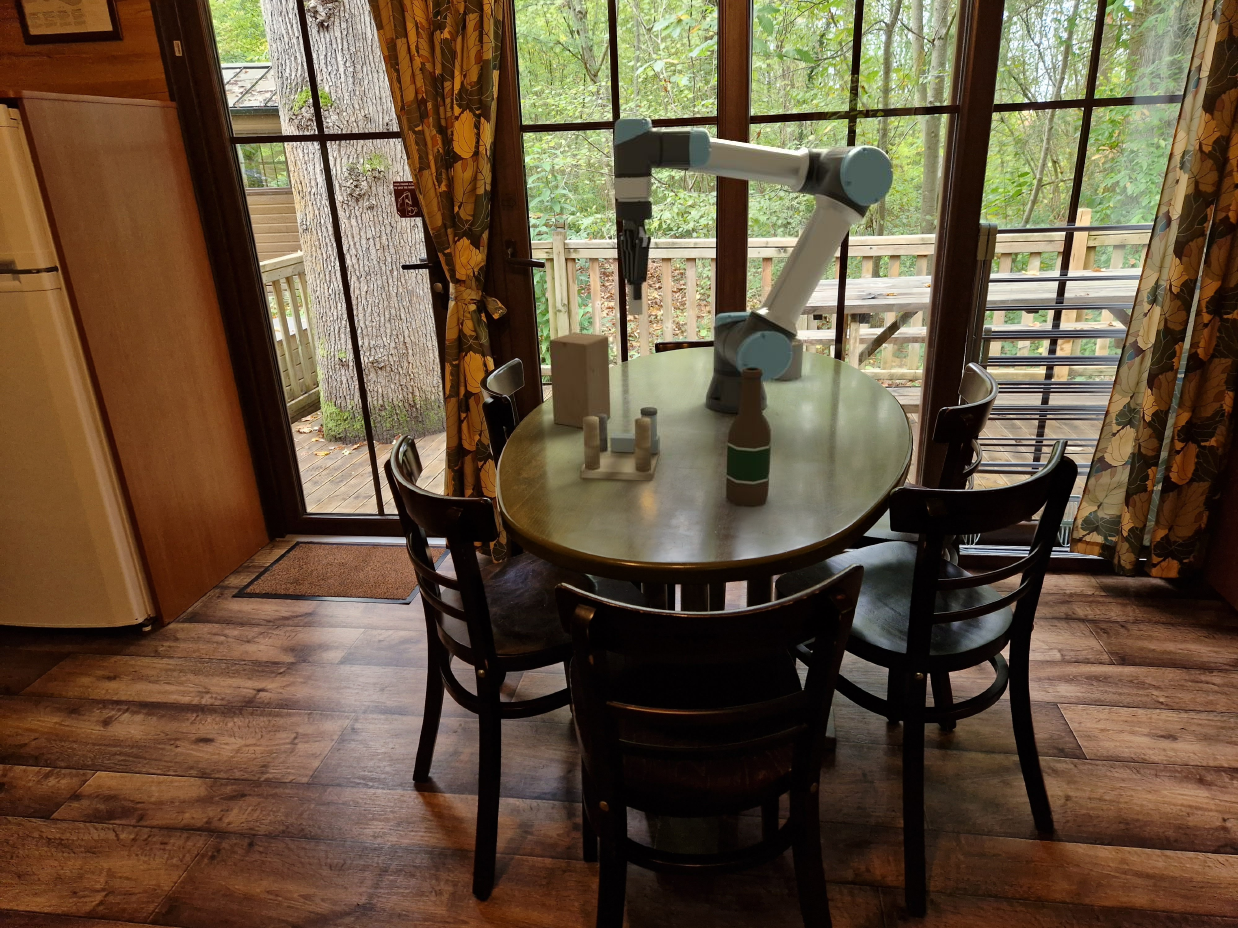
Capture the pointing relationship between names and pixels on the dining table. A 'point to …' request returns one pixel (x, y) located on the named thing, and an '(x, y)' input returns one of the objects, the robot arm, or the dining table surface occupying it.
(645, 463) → the wooden twin post stand
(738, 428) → the beer bottle
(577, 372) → the wooden block
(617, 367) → the dining table surface
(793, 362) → the coffee mug
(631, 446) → the hinged leg
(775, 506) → the dining table surface
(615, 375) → the dining table surface
